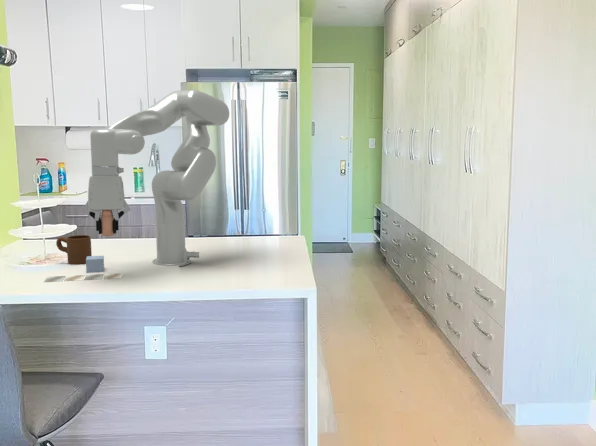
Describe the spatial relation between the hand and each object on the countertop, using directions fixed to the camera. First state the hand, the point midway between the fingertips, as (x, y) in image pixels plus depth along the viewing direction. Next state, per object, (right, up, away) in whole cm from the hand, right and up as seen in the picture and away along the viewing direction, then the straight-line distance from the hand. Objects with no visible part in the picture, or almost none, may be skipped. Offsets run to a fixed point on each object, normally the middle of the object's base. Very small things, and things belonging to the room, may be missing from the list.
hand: (107, 232), depth 169 cm
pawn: (0, -1, 0) cm, 1 cm away
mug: (-19, -11, +21) cm, 30 cm away
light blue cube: (-7, -13, +10) cm, 18 cm away
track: (-7, -14, +1) cm, 16 cm away
